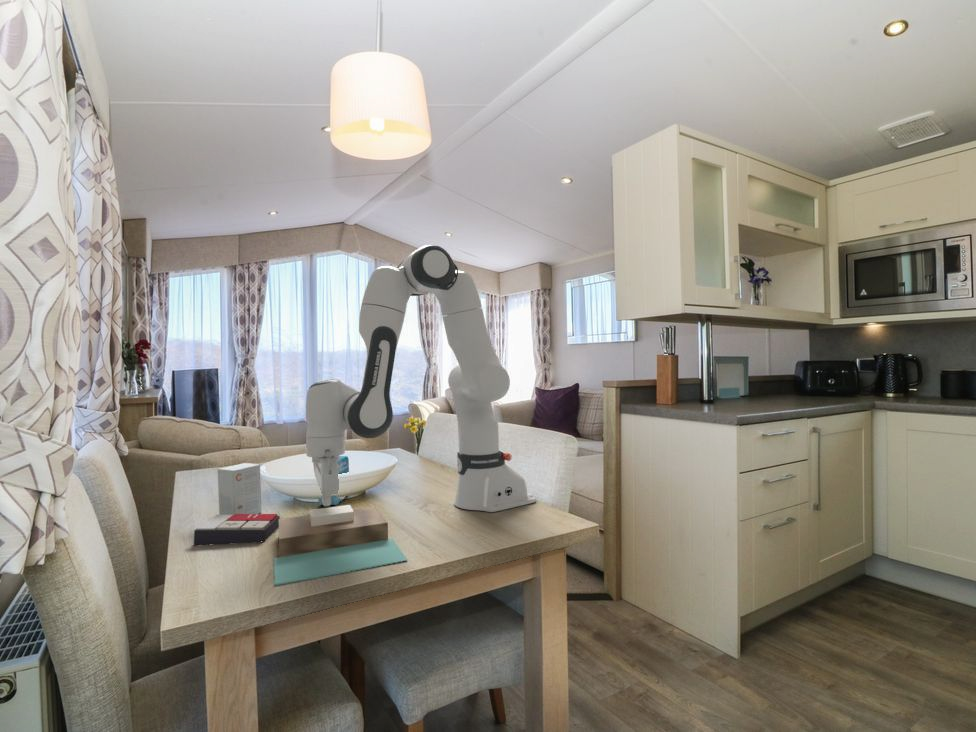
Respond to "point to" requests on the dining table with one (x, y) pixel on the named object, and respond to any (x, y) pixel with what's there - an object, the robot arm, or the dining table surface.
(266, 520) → the calculator
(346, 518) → the white rectangular eraser
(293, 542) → the board
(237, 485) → the small box
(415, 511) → the dining table surface
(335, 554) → the mat
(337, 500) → the data package
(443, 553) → the dining table surface
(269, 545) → the dining table surface
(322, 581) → the dining table surface
